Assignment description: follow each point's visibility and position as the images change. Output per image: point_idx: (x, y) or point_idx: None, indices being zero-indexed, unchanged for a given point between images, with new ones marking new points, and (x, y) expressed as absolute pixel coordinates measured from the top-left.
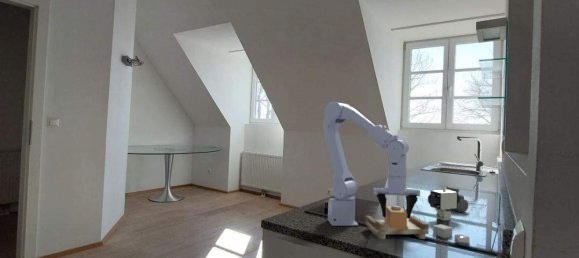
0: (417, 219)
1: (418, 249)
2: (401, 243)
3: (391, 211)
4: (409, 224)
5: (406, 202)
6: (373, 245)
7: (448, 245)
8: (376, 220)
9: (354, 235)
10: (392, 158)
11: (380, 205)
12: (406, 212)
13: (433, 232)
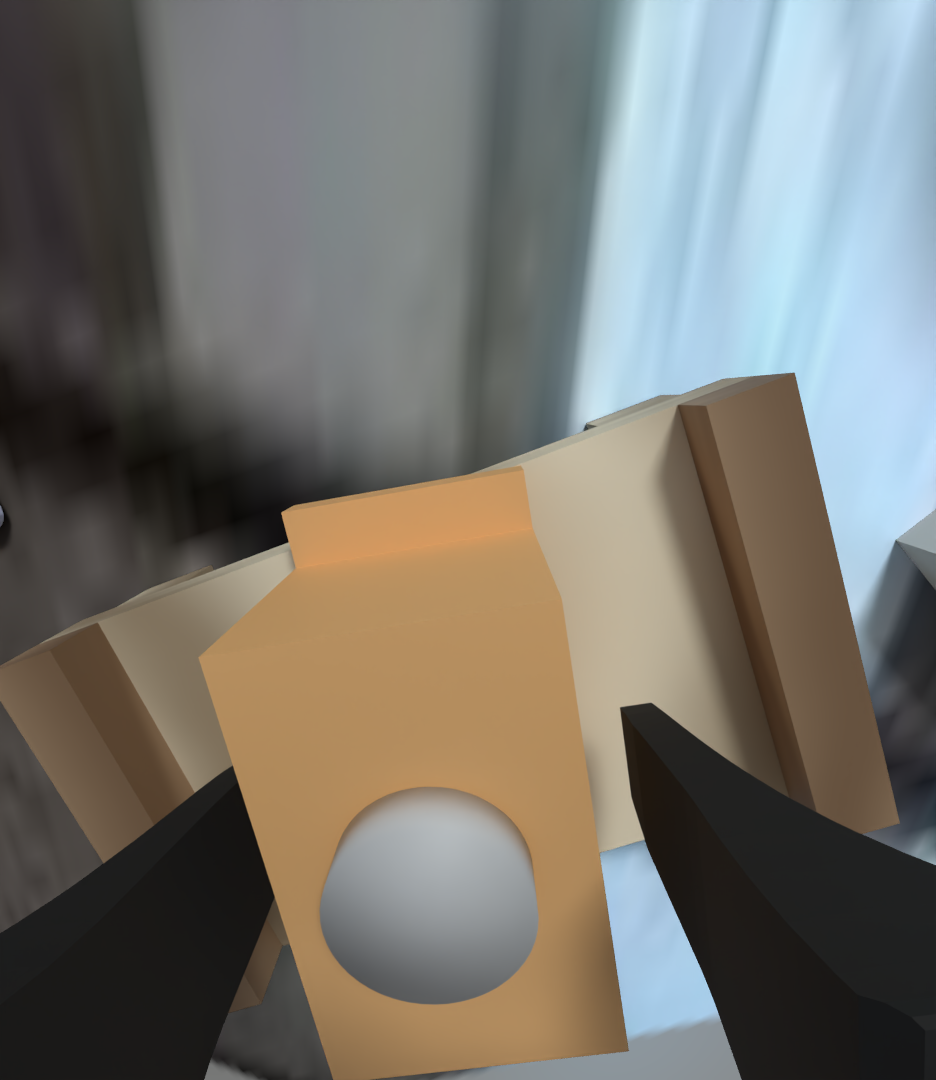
0: (801, 620)
1: (621, 988)
2: None
3: (344, 1056)
4: (641, 653)
5: (736, 878)
6: (262, 1004)
7: (927, 836)
8: (184, 610)
9: (59, 832)
10: None
11: (77, 891)
12: (618, 1047)
13: (915, 550)
